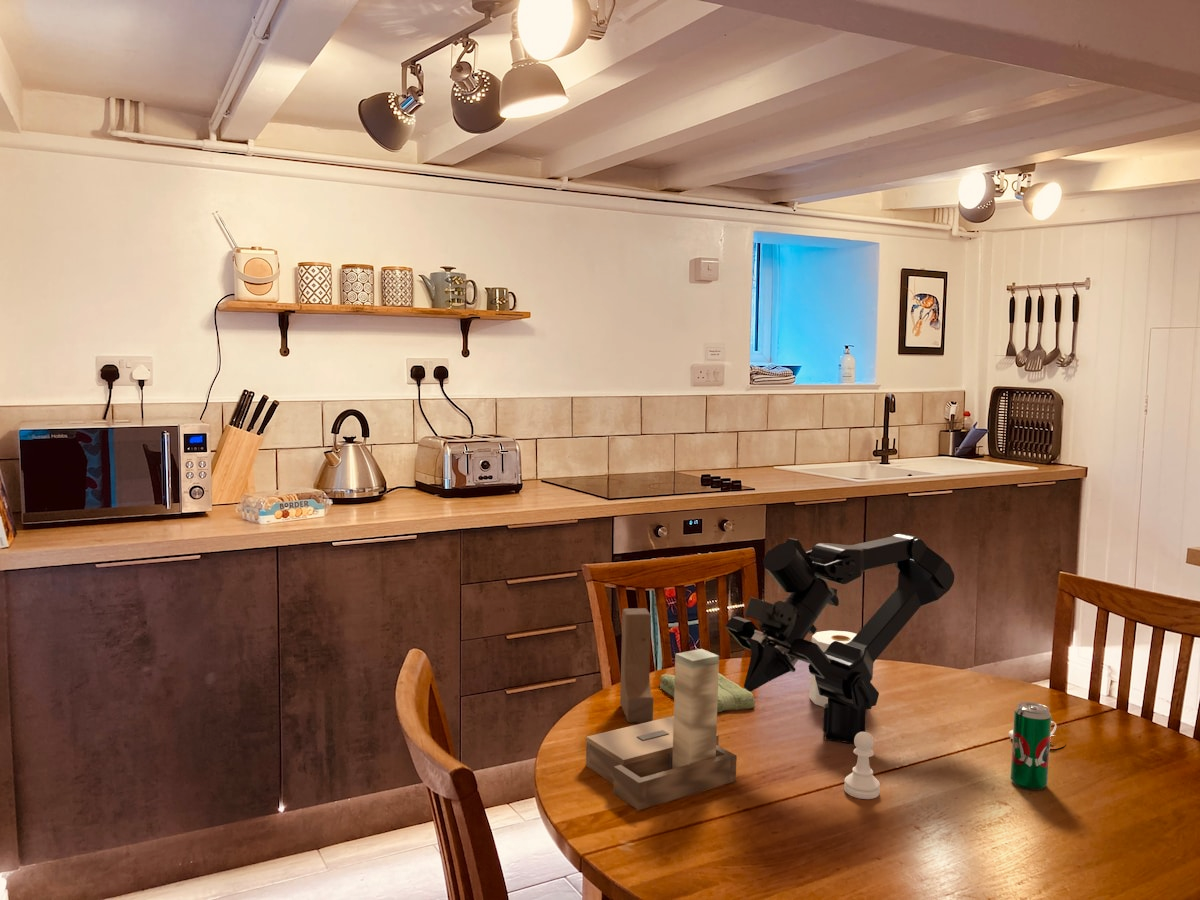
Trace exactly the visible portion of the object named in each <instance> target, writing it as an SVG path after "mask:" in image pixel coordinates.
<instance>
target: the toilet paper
mask: <svg viewBox="0 0 1200 900" xmlns="http://www.w3.org/2000/svg"><path fill="white" fill-rule="evenodd" d="M857 634H858V633H855V632H852V631H851V632H850V631H843V630H823V631H817V632H815V633H814V634H812V636H811V642H813V643H816V644H817V645H818V646H819V647H820V649H821V650H822V651H823V652H825V651H826V650H827V648H828V647H829V645H830V644H831V643H832V642H834V641H838V642H841V643H844V644H846V643H849V642H850V641H851V640H852V639H853V638H854V637H855V636H856V635H857ZM809 673H810V672H809ZM809 675H810V677H809V679H810V680H809V700H811V701H812V702H813V704H815V705H816V706H820V707H822V708H824V705H825V704H828V697H825V696H821V695H819V691H818V687H817V683H816V680H815V675H813V674H811V673H810V674H809Z"/></svg>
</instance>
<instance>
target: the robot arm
mask: <svg viewBox="0 0 1200 900" xmlns="http://www.w3.org/2000/svg"><path fill="white" fill-rule="evenodd" d="M762 561H763V562H762V565H763V567H764V568H765V570H766V571H767V572H768V574H770V575H769V576H771V577H772V578H773V580H774V581H775V582H776V583H777V585H778V586H779V587H780V589H781V590H782V591H783V592H785V593H789V594H788V596H787V597H786V598H785V600H784V601H783V600H777V601H775V602H774V603H770V602H767V601H764V600H763V599H762V600H761V599H758V598H755V597H752V596H750V598H749V599H748V603H747V606H746V608H745V611H744V614H743V616H744V617H745V618H743V617H741V616H733V617H731V618H730V619H729V620H728V621H727V623H726V625H725V627H724V629H726V631H727V632H729V634H730V635H731V636H732V638H734V640H735V641H736V642H737V643H738V644H739V645H740V646H741V647H742V648H744V649H746V650H748V651H750V659H749V664H748V667H747V672H746V676H745V680H744V684H743V689H746V690H747V691H749V692H751V693H752V692H753V691H754V690H756V689H758V688H760V687H761V686H764V685H766V684H768V683H769V682H771V681H772V680H775V679H777V678H778V677H781V676H784V675H786V674H787V673H790V672H792V673H795V671H796V670H797V669H796V667H795V666H796V664H797V662H798V661H802V662H805V663H807V664H809V665H808V671H809V673H811V674H813V675H815V680H816V683H817V687H818V691H819V695H821V696H825V697H828V704H825V705H824V707H823V720H822V721H823V722H822V732H823V733H825V736H824V738H825V740H826V741H834V742H842V743H849V744H854V738H855V736H856V734H858V733H859V732H867V728H866V727H867V726H866V722H867V710H871V709H872V708H873V707H874V706H876V705H877V703H878V699H879V695H880V693H879V691H878V690H877V688H876V687H875V686H874V685H873V683H872V682H871V681H872V680H873V675H874V663H875V661H876V660H877V659H878V658H879V657H880V655H881V654H882V653H883V652H884V651H885V649H887V647H888V646H889V644H890V643H891V642H892V641H893V640H894V639H895V637H896V636H897V635H898V634H899V633H900V632H901V630H902V629H903V628H904V627H905V626H906V624H907V623H908V622H909V621H910V620H911V618H912V617H913V616H914V615H915V613H917V612H918V611H919V609H920V608H921V607H922V606H923V607H924V606H925V605H929V604H931V603H934V602H936V601H937V602H938V600H940V599H941V598H943V596H945V595H946V594H947V593H948V592H949V591H950V589H951V588H952V586H953V585H954V583H955V579H956V577H955V572H954V570H953V568H952V566H951V565H950V563H949V562H947V561H946V560H945V559H944V558H943V557H942V556H941V555H939V554H938V553H937V552H935V551H934V550H933V549H931V548H930V547H929V546H928V545H927V544H926V543H925V542H924V540H923V539H921V538H920V537H919V536H915V535H914V536H913V535H910V534H904V533H897V534H893V535H892V536H888V537H884V538H879V539H874V540H870V541H865V542H859V543H856V544H842V543H841V544H840V543H827V542H826V543H825V542H819V543H817V544H815V545H813V546H812V547H811V550H808V551H805V549H804V547H803V545H802V543H801V542H800V541H799V539H796V538H791V537H789V538H787V539H786V540H785V542H783V543H779V544H777V545H775V546H774V547H772V548H771V549H770V550H768V551H766V553H765V555H764V556H763V559H762ZM892 564H894V567H895V568H896V569H897V570H898V573H897V585H896V586H897V587H896V589H895V590H894V591H893V592H892V593H891V594H890V595H889V597H888V598H886V600H885V601H884V602H883V604H882V605H881V606H880V607H879V608H878V610H876V612H875V613H874V614H873V615H872V616H871V617H870V619H868V621H867V622H866V623H865V624H864V625H863V627H862V628H861V629H860V630H859V631H858V632H857V633H856V634H857V635H856V636H855V637H854V638H853V639H852V640H851V641H850V642H849V643H846V644H844V643H841V642H838V641H834V642H832V643H831V644H830V645H829V647H828V648H827V650H826V651H825V652H823V651H822V650H821V649H820V647H819V646H818V645H817V644H816V643H813V642H812V641H811V640H806V636H807V635H808V634H812V635H814V634H815V633H817V632H816V631H817V629H818V628H817V627H816V626H815V625H814V624H815V623H816V621H817V620H818V619H819V618H820V615H821V614H822V612H823V611H824V610H825V608H826V606H827V605H831V606H834V607H838V606H839V605H840V602H839V596H838V589H837V588H834V587H832V586H831V587H830V586H829V585H828V583H827V582H826V581H829V582H831V583H832V582H833V583H836V584H839V585H848V584H849V583H851V582H854V581H856V580H857V579H859V578H861V577H862V575H863V573H864V572H865V571H868V570H871V569H876V568H879V567H884V566H887V565H888V566H889V565H892ZM746 618H748V619H746ZM749 618H750V619H752V620H754V621H758V623H757V626H758V627H759V628H760V629H761V630H763V632H762V631H760V629H759V628H758V627H757V626H756V625H755V623H753V622H752V620H749Z"/></svg>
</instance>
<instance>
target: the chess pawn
mask: <svg viewBox="0 0 1200 900" xmlns="http://www.w3.org/2000/svg"><path fill="white" fill-rule="evenodd" d="M853 744H854V746H855V747H856V748H854V749H853V754H855V755H856V756H857V761H856V764H855V766H853V767H852V772H850V773H849V774H848V775H847V776H845V778H844V786H843V790H844V791H845V793H846V794H848V795H849V796H851V797H853V798H855V799H860V800H873V799H876V798H878V797H879V796H880V792H881V791H880V787H881V784H880V781H879V780H878V779H877V778H876V776H874V771H873V769H872V768H871V766H870V757H872V756H874V754H875V753H874V751H873V748H874V746H875V739H874V737H873V735H872V734H871V733H869V732H868V731H866V732H859V733H858V734H856V736H855V738H854V743H853Z"/></svg>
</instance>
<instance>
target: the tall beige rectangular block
mask: <svg viewBox="0 0 1200 900" xmlns="http://www.w3.org/2000/svg"><path fill="white" fill-rule="evenodd" d="M674 660H675V661H674V675H675V687H674V698H673V716H674V723H673V758H672V769H674V768H678V767H681V766H685V765H689V764H692V763H696V762H700V761H703V760H707V759H710V758H714V757H716V734H717V735H718V733H717V729H718V727H717V725H718V712H717V703H718V673H720V671H719V667H720V664H719V663H720V655H719V654H716V653H713V652H710V651H709V650H707V649H706V650H705V649H703V648H699V649H698V648H697V649H692V650H688V651H683V652H678V653H677V652H676V653H675V658H674Z"/></svg>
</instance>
